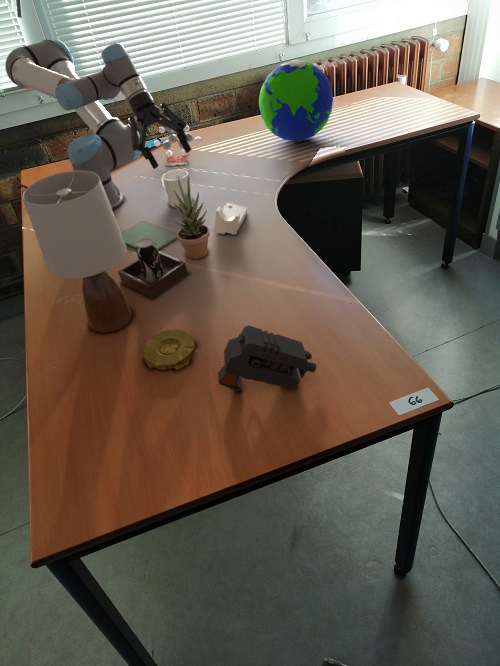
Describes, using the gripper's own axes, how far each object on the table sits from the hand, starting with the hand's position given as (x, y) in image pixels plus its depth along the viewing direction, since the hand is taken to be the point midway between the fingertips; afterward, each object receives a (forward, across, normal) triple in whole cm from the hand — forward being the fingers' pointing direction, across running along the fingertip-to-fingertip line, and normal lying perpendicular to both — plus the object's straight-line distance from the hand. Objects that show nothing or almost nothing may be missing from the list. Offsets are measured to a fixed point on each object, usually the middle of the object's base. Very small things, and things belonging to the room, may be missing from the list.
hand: (173, 159), depth 162 cm
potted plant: (+29, -16, -12) cm, 35 cm away
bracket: (+27, +3, -8) cm, 29 cm away
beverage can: (+29, -32, -12) cm, 45 cm away
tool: (+57, -40, -57) cm, 90 cm away
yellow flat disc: (+44, -48, -37) cm, 75 cm away
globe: (+12, +68, +18) cm, 72 cm away
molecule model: (-4, +26, +41) cm, 49 cm away
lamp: (+31, -50, -17) cm, 62 cm away
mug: (+12, +2, +15) cm, 20 cm away
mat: (+17, -20, +6) cm, 27 cm away
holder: (+28, -32, -12) cm, 45 cm away
